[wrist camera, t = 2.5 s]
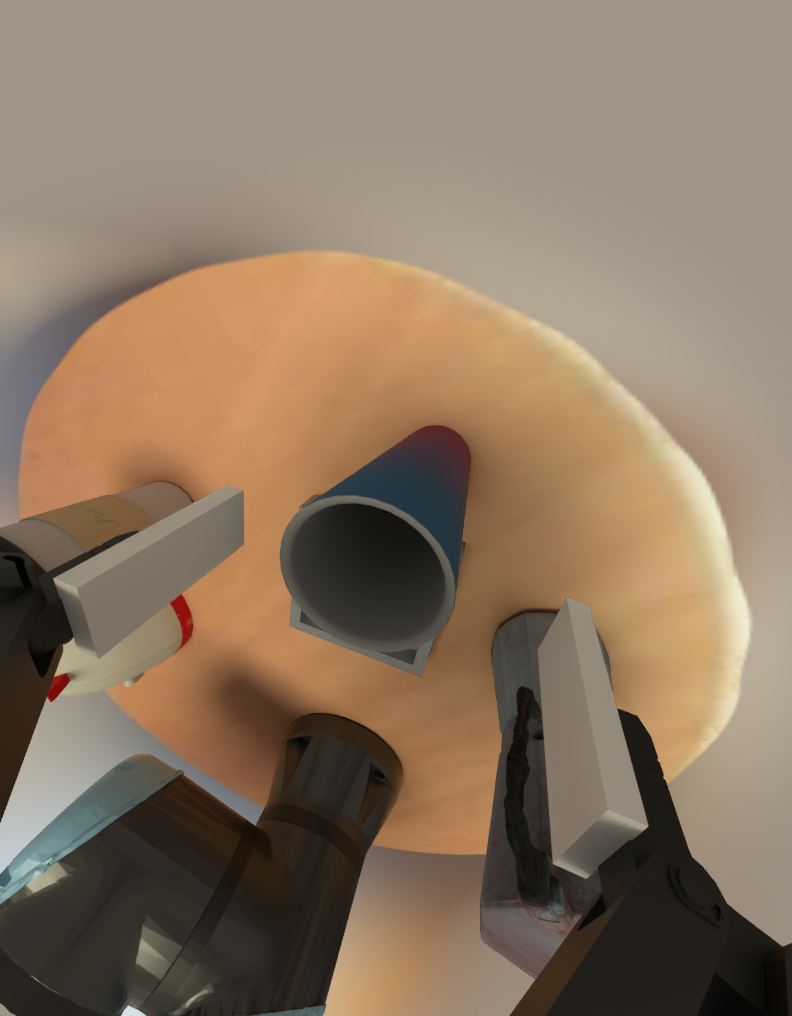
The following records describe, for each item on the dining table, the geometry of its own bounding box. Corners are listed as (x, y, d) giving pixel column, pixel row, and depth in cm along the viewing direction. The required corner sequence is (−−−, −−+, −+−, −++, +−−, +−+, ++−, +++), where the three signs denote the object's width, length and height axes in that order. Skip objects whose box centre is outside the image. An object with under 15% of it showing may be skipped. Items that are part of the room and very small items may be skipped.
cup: (392, 500, 29) (295, 637, 16) (387, 412, 26) (263, 489, 13) (481, 506, 27) (454, 666, 14) (486, 412, 24) (457, 502, 11)
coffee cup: (177, 450, 33) (-46, 529, 20) (231, 540, 35) (67, 661, 22) (116, 479, 36) (-106, 561, 23) (169, 558, 39) (-2, 671, 26)
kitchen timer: (76, 551, 43) (-111, 644, 30) (164, 553, 39) (-9, 662, 26) (126, 641, 49) (-14, 753, 36) (208, 652, 44) (83, 783, 31)
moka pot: (526, 718, 34) (541, 1109, 17) (448, 591, 31) (367, 921, 14) (637, 703, 30) (809, 1200, 13) (562, 555, 27) (659, 963, 9)
